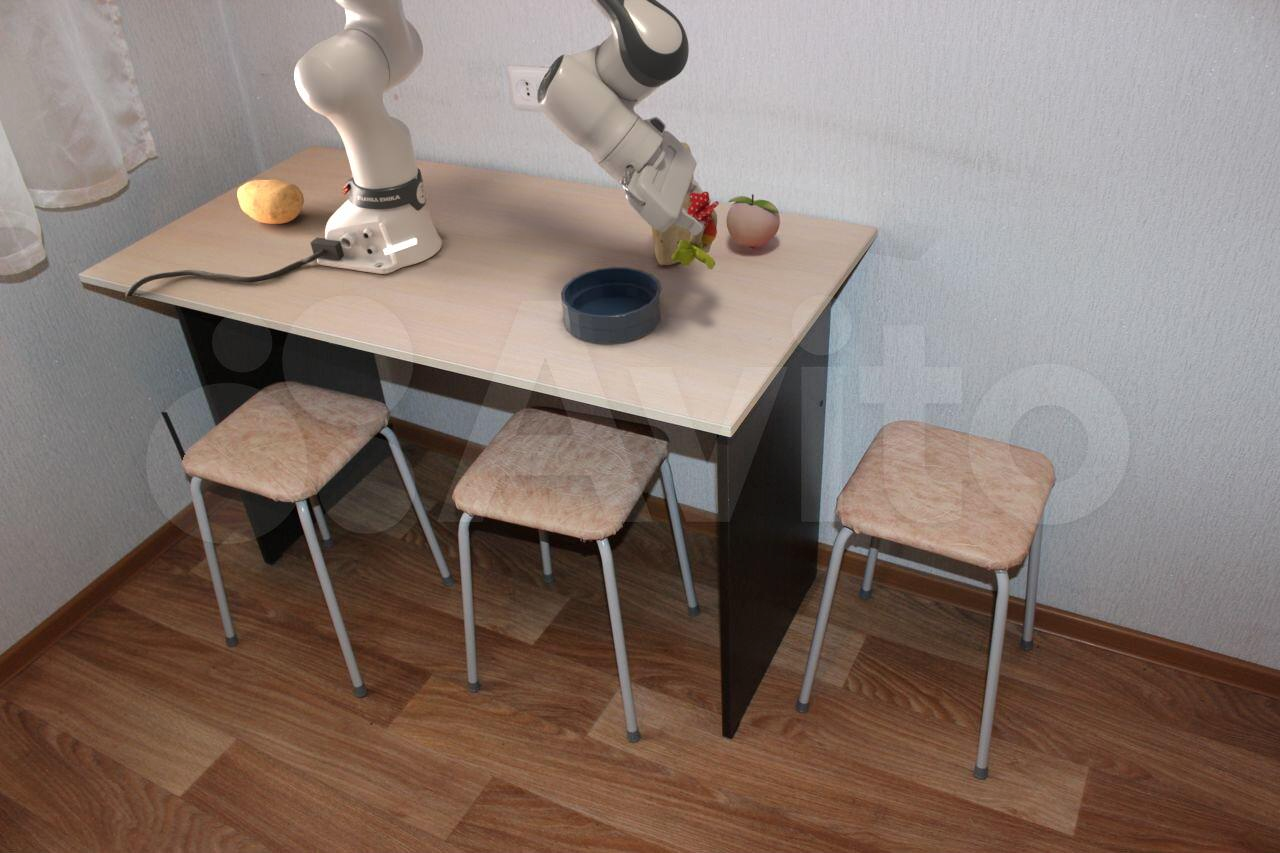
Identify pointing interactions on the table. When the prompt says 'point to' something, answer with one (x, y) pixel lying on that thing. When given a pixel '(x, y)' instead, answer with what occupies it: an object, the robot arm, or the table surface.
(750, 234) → the decorative fruit
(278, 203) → the potato
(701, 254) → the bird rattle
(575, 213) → the table surface
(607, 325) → the bowl
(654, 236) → the food model
